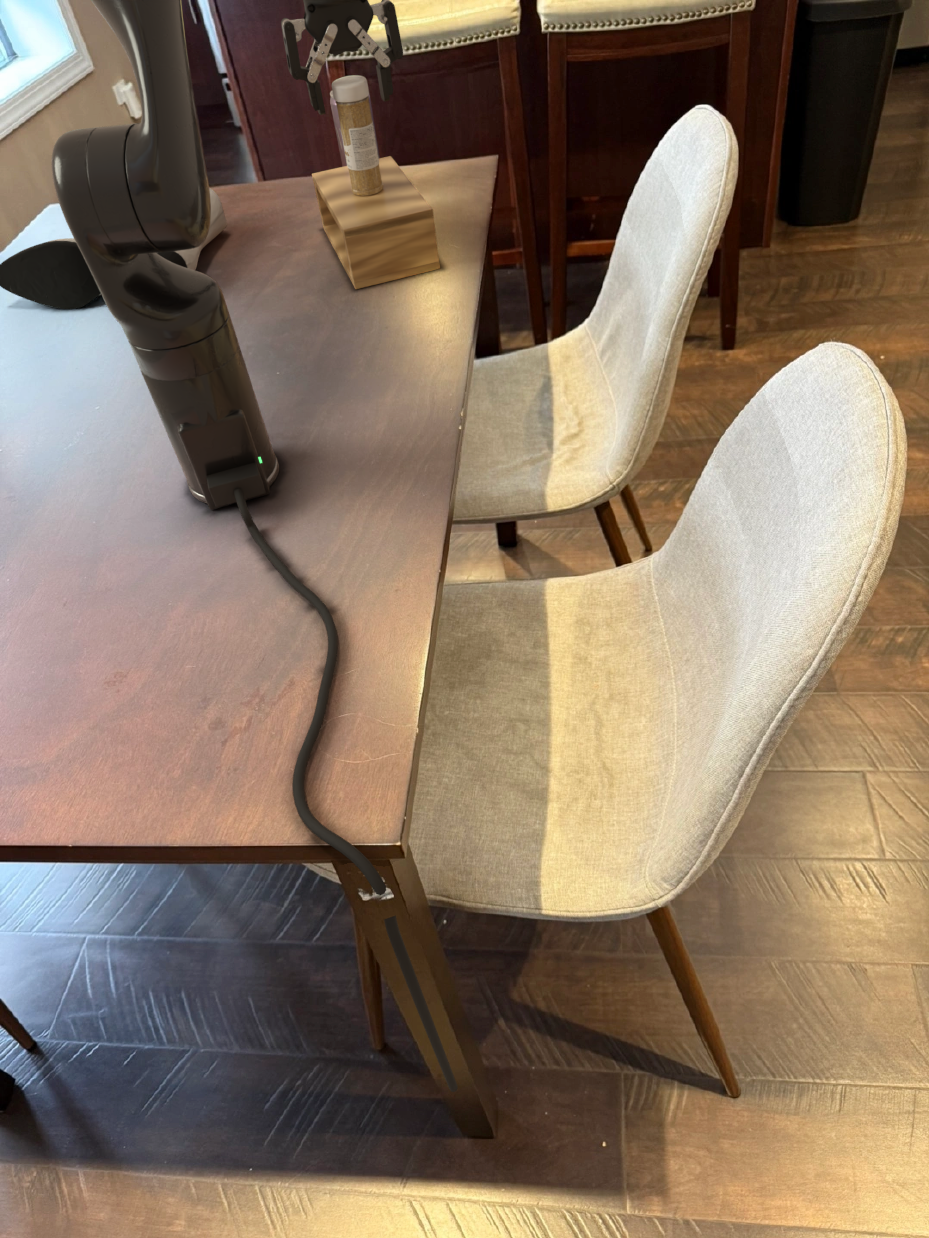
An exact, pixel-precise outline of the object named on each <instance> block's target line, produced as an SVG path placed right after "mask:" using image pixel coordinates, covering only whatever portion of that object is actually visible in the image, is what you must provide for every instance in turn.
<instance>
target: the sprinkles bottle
mask: <svg viewBox="0 0 929 1238" xmlns="http://www.w3.org/2000/svg"><path fill="white" fill-rule="evenodd" d="M369 89H370V88H369V85H368V80H367V78H366V77H365V76H363V75H358V74H355V75H353V74H352V75H345V76H342V77H339V78H337V79H335V80H333V81H332V83H331V91H332V92H333V97H334V100H335V101H336V102H335V103H336V104H337V110H338V115H339V121H340V126H341V134H342V140H343V145H344V151H345V156H346V162H347V167H348V170H349V175H350V180H351V191H352V192H353V194H355V195H359V196H365V195H372V194H375V193H378V192H380V191H381V190H382V189H383V187H384V186H383V182H382V180H381V173H380V167H379V157H378V151H377V144H376V138H375V132H374V126H373V120H372V117H371V111H370V104H369V96H368V95H370V90H369Z"/></svg>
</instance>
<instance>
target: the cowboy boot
mask: <svg viewBox="0 0 929 1238" xmlns="http://www.w3.org/2000/svg"><path fill="white" fill-rule="evenodd" d="M209 190H210V202H211V219H210V228H209V233H208V236H207V238H206V240H205V242H204V243H203V244H202V245H201V246H199V247H197V248H194V249H189V250H181V251H171V252H158V253H157V254H158V255H160V256H161V257H163V258H165V259H166V260H168V261H170V262H172V263H175V264H177V265H180V266H183V267H185V268H189V269H192V270H195V271H196V269H197V266H198V261H199V258H200V254H201V251H202V250H203V249H204V248H205V247H206V246H207V245H208V244H210V242H212V241H213V240H215V238H216V237H217V236H219V234H221V233H222V232H223V231H224V230H225V229H226V228H227V218H226V213H225V210H224V208H223V207H224V206H223V204H222V201H221V198H220V197H219V195H218V193H216V192H215V190H213V189H212V188H210V187H209ZM0 287H1V288H2V289H3V290H5V291H7V292H9V293H11V294H13V295H15V296H18V297H20V298H23V299H25V300H27V301H30V302H32V303H36V304H39V305H42V306H46V307H50V308H54V309H59V310H77V309H80V308H83V307H85V306H86V305H88V304H90V302H93V300H95V299H96V298H98V297H100V296H102V295H101V292H100V290H99V288H98V286H97V284H96V282H95V280H94V278H93V276H92V273H91V271H90V269H89V267H88V265H87V263H86V261H85V259H84V257H83V255H82V253H81V251H80V249H79V247H78V245H77V243H76V241H75V239H74V237H71V238H57V239H53V240H49V241H45V242H42V243H38V244H35V245H33V246H30V247H27V248H25V249H22V250H20V251H18V252H16V253H15V254H13V255H11V256H9V257H8V258H6V259H4V260H3V261H2V262H1V263H0Z"/></svg>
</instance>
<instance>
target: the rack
mask: <svg viewBox="0 0 929 1238" xmlns="http://www.w3.org/2000/svg"><path fill="white" fill-rule="evenodd" d="M379 167H380V173H381V180H382V182H383V186H384V187H383V189H382V190H381V191H380V192H378V193H375V194H372V195H365V196H359V195H355V194H353V192H352V191H351V180H350V175H349V170H348V167H347V166H344V167H343V166H340V167H335V168H331V169H326V170H322V171H318V172H313V173H311V177H312V183H313V187H314V191H315V197H316V200H317V201H316V202H317V206H318V210H319V215H320V218H321V224H322V227H323V228H322V229H323V231H324V232H325V234H326V236H327V238H328V241H329V242H330V244H331V246H332V248H333V249H334V251H335V253H336V256H337V257H338V259H339V261H340V263H341V265H342V266H343V269H344V271H345V272H346V274H347V277H348V278H349V280H350V282H351V284H352V286H353V287H354V289H355V290H359V289H363V288H368V287H371V286H376V285H379V284H383V283H388V282H391V281H392V282H393V281H396V280H399V279H403V278H408V277H411V276H416V275H420V274H424V273H429V272H432V271H435V270H436V271H437V270H441V265H440V257H439V256H440V255H439V250H438V249H439V248H438V241H437V231H436V225H435V217H434V209H433V208H432V206H431V205H430V204H429V202H428V201H427V200H426V198H424V196H423V195H422V194H421V192H420V191H419V190H418V188H417V187H416V186H415V184H413V182H412V181H411V180H410V179H409V177H408V176H407V175H406V173H405V172H404V171H403V170H402V168H401V167H400V166H399V165H398V163H397V162H396V160H395V159H394V158H393V156H391V155H389V156H385V157H380V158H379Z"/></svg>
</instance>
